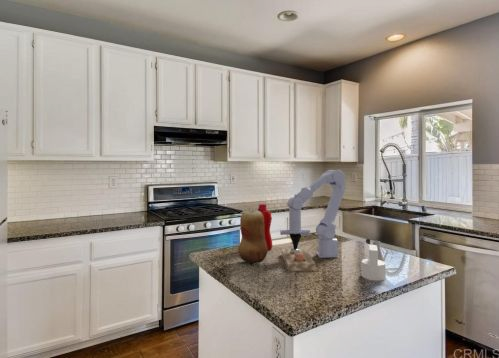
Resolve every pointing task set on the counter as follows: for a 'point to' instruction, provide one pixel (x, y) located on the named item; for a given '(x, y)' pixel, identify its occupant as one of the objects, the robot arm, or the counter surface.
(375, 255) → the base with upright slab
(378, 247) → the flask
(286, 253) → the socket block
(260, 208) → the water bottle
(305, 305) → the counter surface
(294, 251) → the steel plunger
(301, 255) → the pink rounded block
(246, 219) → the butternut squash
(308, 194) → the robot arm
